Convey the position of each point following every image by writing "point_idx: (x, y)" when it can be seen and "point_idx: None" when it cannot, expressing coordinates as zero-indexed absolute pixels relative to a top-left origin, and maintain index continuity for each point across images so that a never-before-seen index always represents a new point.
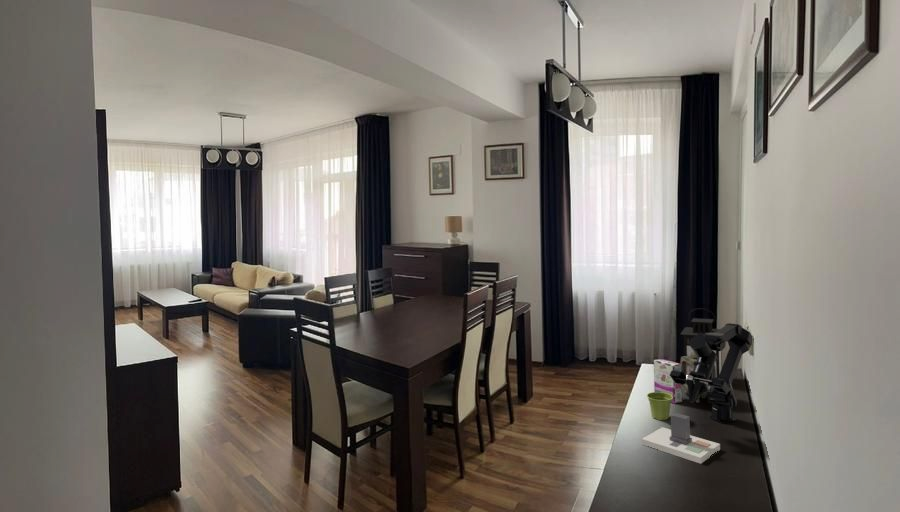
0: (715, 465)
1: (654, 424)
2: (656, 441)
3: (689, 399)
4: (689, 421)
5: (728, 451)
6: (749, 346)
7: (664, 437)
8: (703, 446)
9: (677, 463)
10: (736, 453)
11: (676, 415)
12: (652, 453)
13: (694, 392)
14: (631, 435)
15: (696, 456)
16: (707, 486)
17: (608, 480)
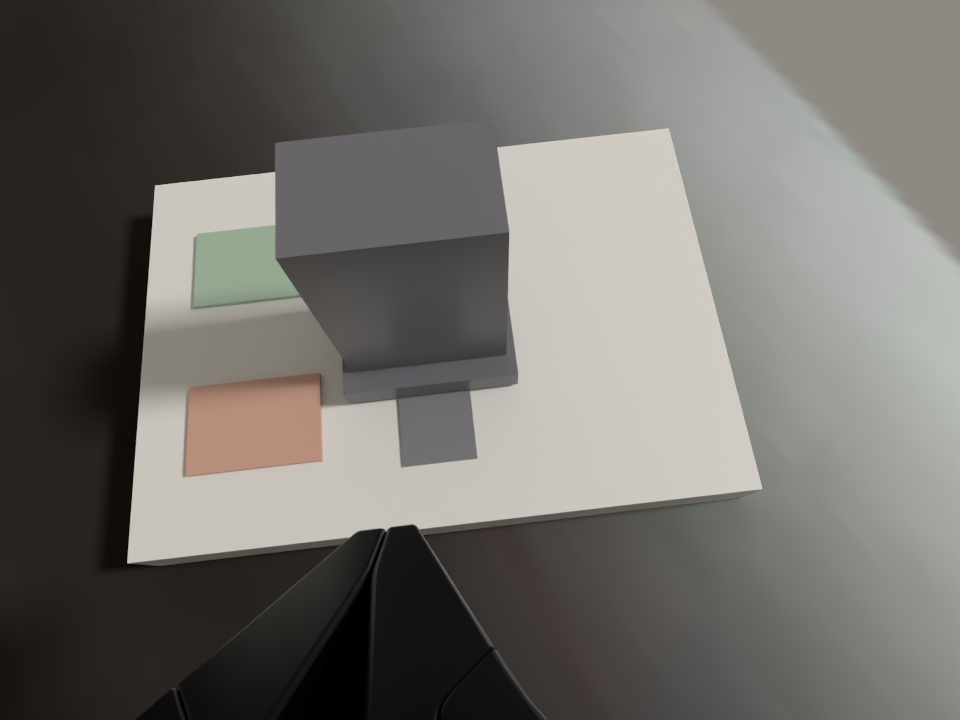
0: (89, 270)
1: (956, 632)
2: (558, 172)
3: (414, 533)
4: (297, 284)
5: (88, 595)
6: None
7: (570, 288)
8: (222, 382)
9: (301, 111)
10: (17, 612)
11: (433, 164)
12: (505, 106)
13: (239, 663)
14: (841, 231)
15: (189, 183)
16: (39, 16)
17: None
